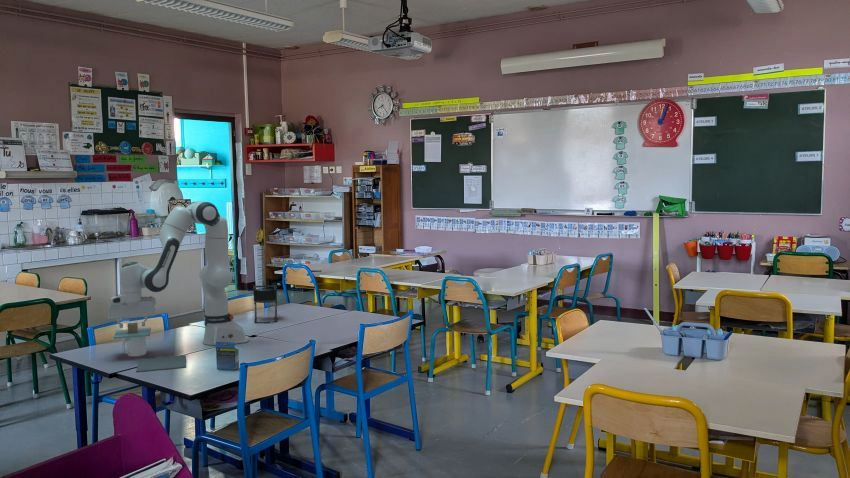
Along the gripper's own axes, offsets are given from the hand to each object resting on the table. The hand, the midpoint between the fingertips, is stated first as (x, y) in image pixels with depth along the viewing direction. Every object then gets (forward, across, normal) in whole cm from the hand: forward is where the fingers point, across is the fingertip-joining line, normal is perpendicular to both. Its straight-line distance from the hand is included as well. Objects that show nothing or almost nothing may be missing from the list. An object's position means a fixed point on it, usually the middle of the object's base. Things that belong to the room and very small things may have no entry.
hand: (132, 326), depth 306 cm
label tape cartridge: (+14, -40, +38) cm, 57 cm away
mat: (+14, -13, +20) cm, 27 cm away
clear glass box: (+14, -67, -59) cm, 90 cm away
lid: (+3, 0, 0) cm, 3 cm away
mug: (+14, 0, 0) cm, 14 cm away
